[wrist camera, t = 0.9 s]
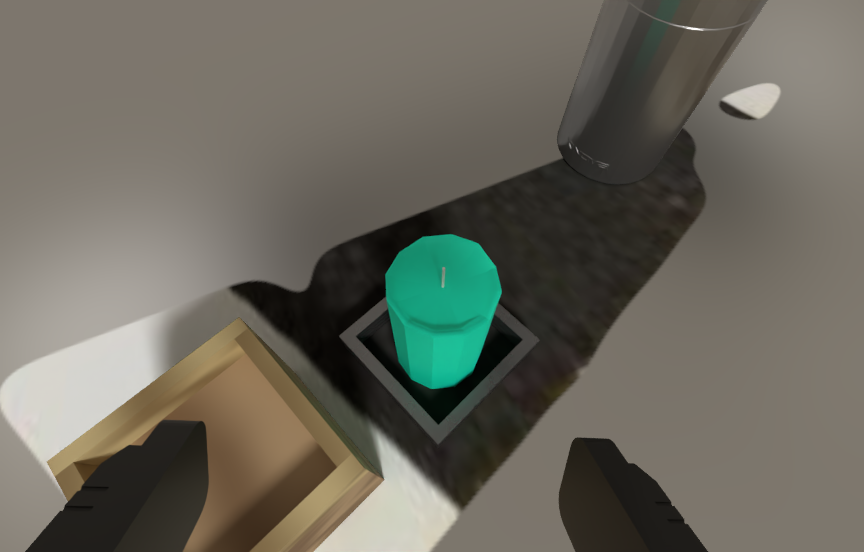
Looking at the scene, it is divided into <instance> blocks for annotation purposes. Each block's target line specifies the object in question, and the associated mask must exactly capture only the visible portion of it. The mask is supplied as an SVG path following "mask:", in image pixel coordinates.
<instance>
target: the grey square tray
mask: <svg viewBox="0 0 864 552" xmlns="http://www.w3.org/2000/svg"><path fill="white" fill-rule="evenodd" d="M389 320H390V315H389V310H388V305H387V300H386V297H385V298H384V299H382V300H381V301H380V302H379V303H378V304H376V305H375V306H374V307H373V308H372V309H371V310H369V311H368V312H367V313H366V314H365V315H363V316H362V317H361V318H360V319H359V320H357V321H356V322H355V323H354V324H353V325H351V326H350V327H349V328H348V329H347V330H345V331H344V332H343V333H342V334H341V335H340V336H339V337H340V339H341V341H342V343H343V345H344V346H345V347H346V349H347V350H348V351H349V352H350V353H351V354H352V355H353V356H354V357H355V358H356V359H357V361H358V362H359V363H360V364H361V365H362V366H363V367H364V368H365V369H366V370H367V372H368V373H369V374H370V375H371V376H372V377H373V378H374V379H375V380H376V381H377V383H378V384H379V385H380V386H381V387H382V388H383V389H384V390H385V391H386V392H387V394H388V395H389V396H390V397H391V398H392V399H393V400H394V401H395V402H396V403H397V404H398V406H399V407H400V408H401V409H402V410H403V411H404V412H405V413H406V414H407V415H408V417H409V418H410V419H411V420H412V421H413V422H414V423H415V424H416V425H417V426H418V428H419V429H420V430H421V431H422V432H423V433H424V434H425V435H426V436H427V437H428V438H429V440H430V441H431V442H432V443H433V444H434V445H435V446H436V447H437V448H438V447H439V446H440V445H441V444H442V443H443V442H444V441H445V440H446V439H447V438H448V437H449V436H450V435H451V434H452V433H453V432H454V431H455V430H456V429H457V428H458V427H459V426H460V425H461V424H462V423H463V422H464V421H465V419H466V418H467V417H468V416H469V415H470V414H471V413H472V412H473V411H474V410H475V409H476V408H477V407H478V406H479V405H480V404H481V403H482V402H483V401H484V400H485V399H486V398H487V397H488V396H489V395H490V394H491V393H492V392H493V391H494V389H495V388H496V387H497V386H498V385H499V384H500V383H501V382H502V381H503V380H504V379H505V378H506V377H507V376H508V375H509V374H510V373H511V372H512V371H513V370H514V369H515V368H516V367H517V366H518V365H519V364H520V363H521V362H522V361H523V359H524V358H525V357H526V356H527V355H528V354H529V353H530V352H531V351H532V350H533V349H534V348H535V346H536V345H537V343H538V342H539V339H538V338H537V337H536V336H535V335H534V334H533V333H531V332H530V331H529V330H528V329H527V328H526V327H525V326H524V325H522V324H521V323H520V322H519V321H518V320H517V319H516V318H515V317H513V316H512V315H511V314H510V313H509V312H508V311H507V310H506V309H504V308H503V307H502V306H501V305H500V304H499V303H498V304H497V307H496V310H495V313H494V316H493V319H492V322H491V325H492V326H493V327H494V328H496V329H497V330H498V331H499V332H500V333H501V334H502V335H503V336H504V337H505V338H506V339H508V340H509V341H510V342H511V343H512V344H513V345H514V346H515V348H514V349H513V350H512V351H511V352H510V353H509V354H508V355H507V356H506V357H505V358H504V359H503V360H502V361H501V362H500V363H499V364H498V365H497V366H496V367H495V368H494V369H493V370H492V371H491V372H490V373H489V374H488V375H487V377H486V378H485V379H484V380H483V381H482V382H481V383H480V384H479V385H478V386H477V387H476V388H475V389H474V390H473V391H472V392H471V393H470V394H469V395H468V396H467V397H466V398H465V399H464V400H463V401H462V402H461V403H460V404H459V405H458V406H457V407H456V408H455V409H454V410H453V411H452V412H451V413H450V414H449V415H448V416H447V417H446V418H445V419H444V420H443V421H442V422H441V423H440V424H439V425H438V424H437V423H436V422H435V421H434V420H433V419H432V418H431V417H430V416H429V415H428V414H427V412H426V411H425V410H424V409H423V408H422V407H421V406H420V405H419V404H418V403H417V402H416V401H415V400H414V399H413V397H412V396H411V395H410V394H409V393H408V392H407V391H406V390H405V389H404V388H403V387H402V386H401V385H400V384H399V382H398V381H397V380H396V379H395V378H394V377H393V376H392V375H391V374H390V373H389V372H388V371H387V370H386V369H385V367H384V366H383V365H382V364H381V363H380V362H379V361H378V360H377V359H376V358H375V357H374V356H373V355H372V354H371V352H370V351H369V350H368V349H367V348H366V347H365V346H364V345H363V344H362V343H363V342H365V341H366V340H367V339H368V338H369V337H370V336H372V335H373V334H374V333H375V332H376V331H377V330H378V329H380V328H381V327H382V326H383V325H384V324H385V323H387V322H388V321H389Z"/></svg>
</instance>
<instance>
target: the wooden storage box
mask: <svg viewBox="0 0 864 552" xmlns="http://www.w3.org/2000/svg"><path fill="white" fill-rule="evenodd" d="M162 420H188V421H203V422H204V423H205V426H206V435H207V454H208V473H209V486H208V493H207V498H206V502H205V505H204V508H203V511H202V513H201V515H200V517H199V520H198V522H197V524H196V526H195V528H194V530H193V532H192V534H191V536H190V538H189V540H188V542H187V544H186V546H185V548H184V550H183V552H313V551H314V550H315V549H316V548H317V547H318V546H319V545H320V544H321V543H322V542H323V541H324V540H325V539H326V538H327V537H328V536H329V535H330V534H331V533H332V532H333V531H334V530H335V529H336V528H337V527H338V526H339V525H340V524H341V523H342V522H343V521H344V520H345V519H346V518H347V517H348V516H349V515H350V514H351V513H352V512H353V511H354V510H355V509H356V508H357V507H358V506H359V505H360V504H361V503H362V502H363V501H364V500H365V499H366V498H367V497H368V496H369V495H370V494H371V493H372V492H373V491H374V490H375V489H376V488H377V487H378V486H379V485H380V484H381V483H382V482H383V481H384V479H383V478H382V477H381V475H380V474H379V473H378V472H377V471H376V469H375V468H374V467H373V466H372V465H371V464H370V462H369V461H368V460H367V459H366V458H365V456H364V455H363V454H362V453H361V452H360V450H359V449H358V448H357V447H356V446H355V444H354V443H353V442H352V441H351V440H350V438H349V437H348V436H347V435H346V434H345V432H344V431H343V430H342V429H341V428H340V426H339V425H338V424H337V423H336V422H335V420H334V419H333V418H332V417H331V416H330V414H329V413H328V412H327V411H326V410H325V409H324V407H323V406H322V405H321V404H320V403H319V401H318V400H317V399H316V398H315V397H314V395H313V394H312V393H311V392H310V391H309V389H308V388H307V387H306V386H305V385H304V383H303V382H302V381H301V380H300V379H299V377H298V376H297V375H296V374H295V373H294V371H293V370H292V369H291V368H290V367H289V366H288V365H287V364H286V363H285V362H284V361H283V360H282V359H281V358H280V357H279V356H278V355H277V354H276V353H275V352H274V351H273V350H272V349H271V348H270V347H269V346H268V345H267V344H266V343H265V342H264V341H263V340H262V339H261V338H260V337H259V336H258V335H257V334H256V333H255V332H254V331H253V330H252V329H251V328H250V327H249V326H248V325H247V324H246V323H245V322H244V321H243V320H242V319H241V318H240V317H239V318H237V319H236V320H235V321H233V322H232V323H231V324H229V325H228V326H227V327H225V328H224V329H223V330H221V331H220V332H219V333H217V334H216V335H215V336H213V337H212V338H211V339H209V340H208V341H207V342H205V343H204V344H203V345H201V346H200V347H199V348H197V349H196V350H195V351H193V352H192V353H191V354H189V355H188V356H187V357H185V358H184V359H183V360H181V361H180V362H179V363H177V364H176V365H175V366H173V367H172V368H171V369H170V370H168V371H167V372H166V373H164V374H163V375H162V376H160V377H159V378H158V379H156V380H155V381H154V382H152V383H151V384H150V385H148V386H147V387H146V388H144V389H143V390H142V391H140V392H139V393H138V394H136V395H135V396H134V397H132V398H131V399H130V400H128V401H127V402H126V403H124V404H123V405H122V406H120V407H119V408H118V409H116V410H115V411H114V412H112V413H111V414H110V415H108V416H107V417H106V418H104V419H103V420H102V421H100V422H99V423H98V424H96V425H95V426H94V427H92V428H91V429H90V430H88V431H87V432H86V433H84V434H83V435H82V436H80V437H79V438H78V439H76V440H75V441H74V442H72V443H71V444H70V445H68V446H67V447H66V448H64V449H63V450H62V451H60V452H59V453H58V454H57V455H55V456H54V457H53V458H51V459H50V460H49V461H47V463H48V465H49V467H50V469H51V471H52V473H53V474H54V476H55V478H56V480H57V482H58V484H59V486H60V487H61V489H62V491H63V493H64V495H65V497H66V499H67V501H69V500H70V499H71V498H72V497H73V495H74V494H75V493H76V492H77V491H80V490H81V486H82V485H83V484H84V483H85V481H86V480H87V479H88V478H89V477H90V476H91V474H92V473H93V472H94V471H95V470H96V469H97V467H98V466H99V465H100V464H101V463H102V462H104V461H105V460H107V459H108V458H110V457H111V456H113V455H114V454H116V453H117V452H119V451H120V450H122V449H123V448H125V447H126V446H128V445H142V444H143V443H144V441H145V440H146V439H147V438H148V436H149V435H150V434H151V432H152V431H153V430H154V429H155V427H156V426H157V425H158V424H159V423H160V422H161V421H162Z"/></svg>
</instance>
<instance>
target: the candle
mask: <svg viewBox="0 0 864 552" xmlns="http://www.w3.org/2000/svg"><path fill="white" fill-rule="evenodd" d="M385 279H386V300H387V305H388V310H389V315H390V320H391V325H392V330H393V335H394V340H395V345H396V350H397V355H398V360H399V363H400V364H401V366H402V367H403V368H404V370H405V371H406V373H407V374H408V376H409V377H410V378H411V380H413V381H415V382H418V383H420V384H422V385H424V386H426V387H429V388H431V389H437V388H447V387H455V386H456V385H457V384H459V383H460V382H462V381H463V380H464V379H466V378H467V377H468V376H470V375H471V374H472V373H473V370H474V368H475V366H476V363H477V361H478V358H479V356H480V354H481V351H482V348H483V345H484V342H485V339H486V336H487V333H488V330H489V327H490V325H491V322H492V319H493V316H494V313H495V310H496V307H497V304H498V301H499V299H500V296H501V293H502V291H501V286H500V282H499V278H498V273H497V269H496V266H495V265H494V264H493V262H492V261H491V260H490V258H489V257H488V256H487V254H486V253H485V252H484V250H483V249H482V248H481V246H480V245H479V244H478V243H476V242H473V241H470V240H467V239H464V238H461V237H458V236H455V235H452V234H448V235H437V236H426V237H422V238H420V239H419V240H417V241H416V242H414V243H413V244H411V245H410V246H408V247H406V248H405V249H403V250H402V251H400V252H399V253H398V255H397V256H396V258H395V260H394V261H393V263H392V265H391V266H390V268H389V269H388V271H387V273H386V274H385Z"/></svg>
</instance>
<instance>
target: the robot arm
mask: <svg viewBox="0 0 864 552" xmlns="http://www.w3.org/2000/svg"><path fill="white" fill-rule="evenodd" d="M767 1H768V0H604V2H603V4H602V7H601V10H600V13H599V16H598V19H597V22H596V25H595V28H594V31H593V33H592V36H591V39H590V42H589V45H588V48H587V50H586V53H585V56H584V59H583V62H582V65H581V68H580V70H579V73H578V76H577V79H576V82H575V85H574V88H573V91H572V93H571V96H570V99H569V102H568V105H567V108H566V111H565V114H564V116H563V119H562V122H561V125H560V128H559V131H558V136H557V142H558V147H559V150H560V152H561V154H562V156H563V158H564V159H565V160H566V162H567V163H568V164H569V165H570V166H571V167H572V168H574V169H575V170H576V171H577V172H579V173H581V174H582V175H584V176H586V177H588V178H590V179H593V180H595V181H599V182H603V183H608V184H627V183H632V182H635V181H638V180H641V179H643V178H644V177H646V176H648V175H649V174H650V173H651V172H652V171H653V170H654V169H655V167H656V166H657V164H658V163H659V161H660V160H661V158H662V157H663V156H664V154H665V153H666V151H667V150H668V148H669V147H670V145H671V144H672V142H673V141H674V139H675V138H676V136H677V135H678V133H679V132H680V131H681V129H682V128H683V126H684V125H685V123H686V122H687V120H688V119H689V117H690V116H691V114H692V113H693V111H694V110H695V108H696V107H697V105H698V104H699V102H700V101H701V99H702V98H703V96H704V95H705V93H706V92H707V90H708V89H709V87H710V86H711V84H712V83H713V81H714V80H715V79H716V77H717V75H718V74H719V73H720V71H721V70H722V68H723V67H724V65H725V63H726V62H727V60H728V59H729V58H730V56H731V55H732V53H733V52H734V50H735V49H736V47H737V46H738V44H739V43H740V41H741V40H742V38H743V37H744V35H745V34H746V32H747V31H748V29H749V28H750V27H751V25H752V24H753V22H754V21H755V19H756V18H757V16H758V14H759V13H760V11H761V10H762V8H763V7H764V5H765V4H766V2H767ZM208 486H209V473H208V454H207V435H206V426H205V423H204V422H203V421H188V420H162V421H161V422H160V423H159V424H158V425H157V426H156V427H155V429H154V430H153V431H152V432H151V434H150V435H149V436H148V438H147V439H146V440H145V441H144V443H143V444H142V445H128V446H126V447H125V448H123V449H122V450H120V451H119V452H117V453H116V454H114V455H113V456H111V457H110V458H108V459H107V460H105V461H104V462H102V463H101V464H100V465H99V466H98V467H97V469H96V470H95V471H94V472H93V473H92V474H91V476H90V477H89V478H88V479H87V480H86V481H85V483H84V484H83V485H82V486H81V490H80V491H77V492H76V493H75V494H74V495H73V497H72V498H71V499H70V500H69V501H68V502H67V504H66V505H65V507H64V510H63V511H60V512H59V513H58V514H57V515H56V516H55V518H54V519H53V520H52V521H51V522H50V523H49V525H48V526H47V527H46V528H45V529H44V530H43V532H42V533H41V534H40V535H39V536H38V537H37V539H36V540H35V541H34V542H33V543H32V544H31V546H30V547H29V548H28V549H27V550H26V551H25V552H183V550H184V548H185V546H186V544H187V542H188V540H189V538H190V536H191V534H192V532H193V530H194V528H195V526H196V524H197V522H198V520H199V517H200V515H201V513H202V511H203V508H204V505H205V502H206V498H207V493H208ZM559 509H560V514H561V518H562V521H563V524H564V526H565V529H566V531H567V533H568V536H569V538H570V540H571V542H572V545H573V547H574V549H575V552H708V551H707V550H706V548H705V547H704V546H703V544H702V543H701V542H700V540H699V539H698V537H697V536H696V535H695V534H694V532H693V531H692V529H691V528H690V527H689V525H688V524H685V523H684V519H683V517H682V516H681V514H680V513H679V512H678V510H677V509H676V508H675V506H672V505H671V501H670V500H669V498H668V497H667V496H666V494H665V493H664V491H663V490H662V489H661V487H660V486H659V485H658V483H657V482H656V481H655V480H654V479H652V478H651V477H650V476H649V475H648V474H647V473H645V472H644V471H643V470H642V469H640V468H639V467H638V466H637V465H635V464H630V463H628V462H627V461H626V460H625V458H624V457H623V455H622V454H621V452H620V451H619V449H618V448H617V447H616V445H615V444H614V443H613V441H611V440H610V439H598V438H575V439H574V440H573V442H572V444H571V447H570V451H569V456H568V459H567V463H566V467H565V471H564V475H563V479H562V483H561V487H560V491H559Z"/></svg>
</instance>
